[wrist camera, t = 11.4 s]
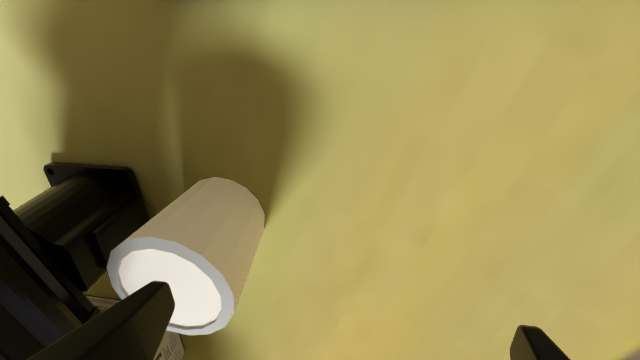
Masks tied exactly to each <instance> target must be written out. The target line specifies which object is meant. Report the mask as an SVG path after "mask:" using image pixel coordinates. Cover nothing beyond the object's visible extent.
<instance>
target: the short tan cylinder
mask: <svg viewBox="0 0 640 360" xmlns="http://www.w3.org/2000/svg"><path fill="white" fill-rule="evenodd" d="M264 223H265V214H264V212H263V209H262V207H261V205H260V202H259V200H258V199H257V198H256V197H255V196H254V195H253V194H252V193H251V192H250V191H249V190H248V189H247V188H246V187H244V186H242V185H240V184H238V183H237V182H235V181H233V180H230V179H225V178H219V177H211V178H206V179H202V180H199V181H198V182H197V183H196V184H194V185H193V186H192V187H191V188H189V189H188V190H187V191H186V192H184V193H183V194H182V195H181V196H179V197H178V198H177V199H176V200H174V201H173V202H172V203H171V204H169V205H168V206H167V207H166V208H164V209H163V210H162V211H161V212H159V213H158V214H157V215H156V216H154V217H153V218H152V219H151V220H149V221H148V222H147V223H146V224H144V225H143V226H142V227H141V228H139V229H138V230H137V231H136V232H134V233H133V234H132V235H131V236H129V237H128V238H127V239H126V240H124V241H123V242H122V243H121V244H119V245H118V246H117V247H116V248H114V249H113V250H112V251H111V253H110V257H109V260H108V264H107V271H108V275H109V278H110V282H111V285H112V287H113V289H114V290H115V291H116V293H117V294H118V295H119V297H120V298H121V299H122V300H123V299H124V298H126V297H127V296H129V295H131V294H132V293H134V292H135V291H137V290H139V289H140V288H142V287H143V286H145V285H147V284H148V283H150V282H152V281H162V282H167V283H168V284H169V286H170V289H171V292H172V295H173V298H174V301H175V309H174V312H173V315H172V317H171V319H170V322H169V324H168V327H167V329H166V330H167V331H171V332H176V333H180V334H185V335H207V334H211V333H213V332H215V331H218V330H220V329H222V328H224V327H226V325H227V324H228V322H229V320H230V319H231V317H232V316H233V314H234V312H235V309H236V306H237V304H238V301H239V298H240V295H241V292H242V289H243V287H244V284H245V281H246V278H247V275H248V272H249V270H250V267H251V264H252V261H253V258H254V256H255V253H256V250H257V247H258V244H259V241H260V239H261V236H262V233H263V230H264Z"/></svg>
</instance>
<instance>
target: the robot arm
mask: <svg viewBox="0 0 640 360" xmlns="http://www.w3.org/2000/svg"><path fill="white" fill-rule="evenodd" d="M44 172H45V174H46V176H47V178H48V181H49V183H50V185H51V188H49V189H47V190H46V191H44V192H43V193H41V194H39V195H38V196H36V197H34V198H33V199H31V200H29V201H28V202H26V203H25V204H23V205H21V206H20V207H18V208H16V209H15V210H12V209H11V208H10V207H9V206H8V205H10V204H9V202H8V201H7V200H6V199H5V198H4V196H0V360H153V359H154V357H155V355H156V353H157V350H158V348H159V346H160V343H161V341H162V338H163V336H164V334H165V331H166V329H167V327H168V324H169V322H170V319H171V317H172V315H173V312H174V309H175V301H174V298H173V295H172V292H171V289H170V286H169V284H168V283H167V282H162V281H152V282H150V283H148V284H147V285H145V286H143V287H142V288H140V289H139V290H137V291H135V292H134V293H132V294H131V295H129V296H127V297H126V298H124V299H123V300H121V301H119V302H118V303H116V304H115V305H113V306H111V307H110V308H108V309H107V310H105V311H103V312H101V311H100V309H99V308H98V307H97V306H94V305H93V304H92V303H91V302H90V300H89V299H88V298H87V297H86V296H85V294H84V293H83V292H82V291H84V292H85V291H87V290H88V289H89V288H90V287H91V286H92V285H93V284H94V283H95V282H96V281H97V280H98V279H99V278H100V277H101V276H102V275H103V274H104V273H105V272H106V271H107V264H108V260H109V257H110V253H111V251H112V250H113V249H114V248H116V247H117V246H118V245H119V244H121V243H122V242H123V241H124V240H126V239H127V238H128V237H129V236H131V235H132V234H133V233H134V232H136V231H137V230H138V229H139V228H141V227H142V226H143V225H144V224H146V223H147V222H148V221H149V218H148V215H147V212H146V209H145V206H144V203H143V200H142V196H141V193H140V190H139V187H138V184H137V181H136V178H135V175H134V172H133V171H132V170H131V169H130V168H128V167H118V166H102V165H86V164H70V163H54V162H52V163H49V164H47V165H45V166H44ZM125 175H126V176H125ZM510 359H511V360H570V359H569V358H568V357H567V356H566V355H565V354H564V353H563V351H562V350H561V349H560V348H559V347H558V346H557V345H556V344H555V343H554V342H553V341H552V340H551V339H550V338H549V337H548V336H547V335H546V334H545V333H544V332H543V331H542V330H541V329H540V328H538V327H535V326H527V325H520V326H518V328H517V330H516V333H515V335H514V338H513V341H512V344H511V347H510Z"/></svg>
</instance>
